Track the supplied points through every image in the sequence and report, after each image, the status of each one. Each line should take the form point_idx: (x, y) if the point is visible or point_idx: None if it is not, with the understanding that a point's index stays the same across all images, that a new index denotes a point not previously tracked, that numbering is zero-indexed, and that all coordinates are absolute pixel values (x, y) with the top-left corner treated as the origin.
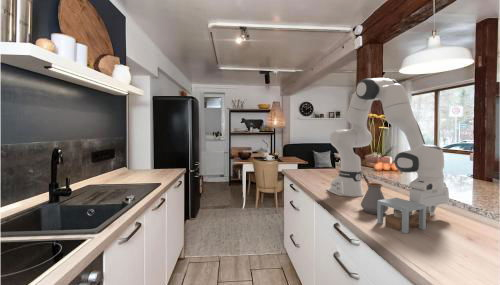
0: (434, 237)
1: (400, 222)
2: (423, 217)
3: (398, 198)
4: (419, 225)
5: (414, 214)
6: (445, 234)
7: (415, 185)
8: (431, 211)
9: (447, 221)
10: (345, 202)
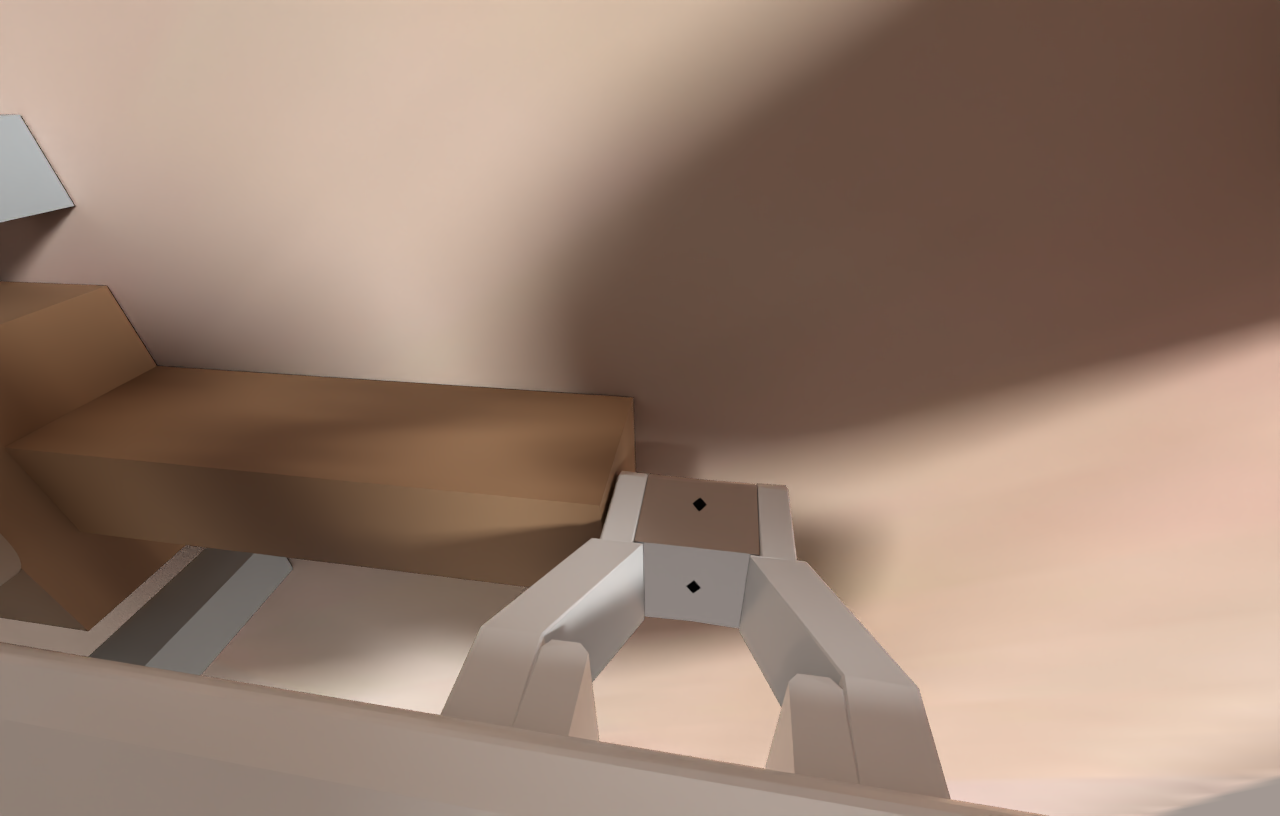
0: (245, 654)
1: None
2: None
3: None
4: (194, 565)
5: (212, 477)
6: (396, 677)
7: None
8: (738, 602)
9: (875, 600)
10: None
